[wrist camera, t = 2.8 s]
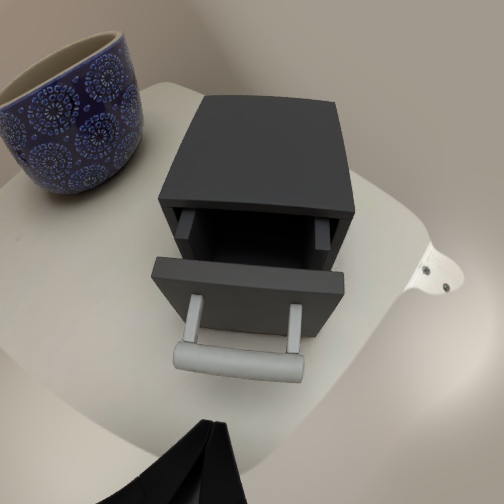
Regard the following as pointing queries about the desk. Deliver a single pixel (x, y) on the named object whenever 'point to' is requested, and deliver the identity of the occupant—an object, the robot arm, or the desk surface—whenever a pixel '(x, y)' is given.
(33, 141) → the planter
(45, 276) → the desk surface
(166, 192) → the cabinet
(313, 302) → the drawer
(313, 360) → the desk surface
